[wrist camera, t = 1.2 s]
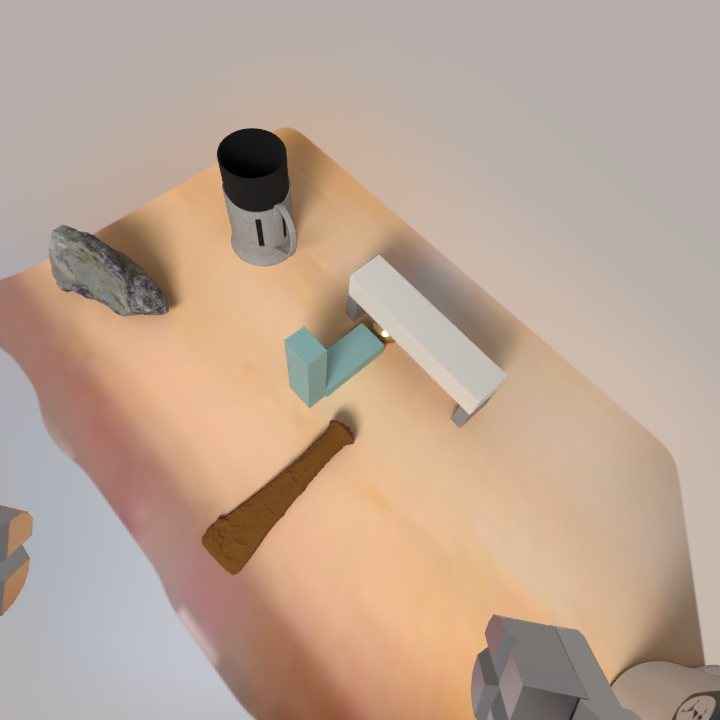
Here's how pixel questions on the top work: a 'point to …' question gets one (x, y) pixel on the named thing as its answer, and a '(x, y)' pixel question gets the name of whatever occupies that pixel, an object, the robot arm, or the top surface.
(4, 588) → the robot arm
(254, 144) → the glass holder
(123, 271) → the mineral rock
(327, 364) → the block
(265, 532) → the primitive tool
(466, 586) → the top surface
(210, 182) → the top surface
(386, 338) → the token
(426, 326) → the white bench
